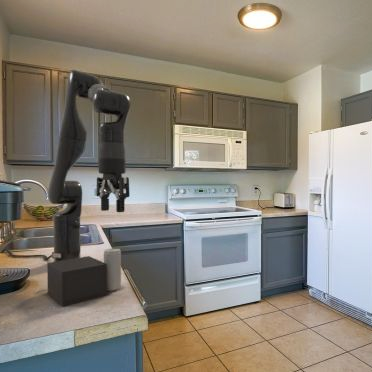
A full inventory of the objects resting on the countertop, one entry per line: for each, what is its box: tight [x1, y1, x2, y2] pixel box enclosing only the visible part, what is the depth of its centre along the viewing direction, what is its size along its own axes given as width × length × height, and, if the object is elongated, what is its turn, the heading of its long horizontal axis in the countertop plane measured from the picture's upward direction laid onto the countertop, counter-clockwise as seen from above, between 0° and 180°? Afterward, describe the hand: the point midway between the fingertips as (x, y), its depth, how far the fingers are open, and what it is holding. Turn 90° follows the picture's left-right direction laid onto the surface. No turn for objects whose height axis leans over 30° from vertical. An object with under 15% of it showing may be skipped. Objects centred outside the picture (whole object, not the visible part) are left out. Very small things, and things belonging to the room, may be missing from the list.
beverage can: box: [103, 247, 122, 292], centre depth 97 cm, size 5×5×12 cm
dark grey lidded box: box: [46, 255, 108, 307], centre depth 92 cm, size 14×12×9 cm
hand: (112, 211), depth 95 cm, fingers open, 8 cm apart
